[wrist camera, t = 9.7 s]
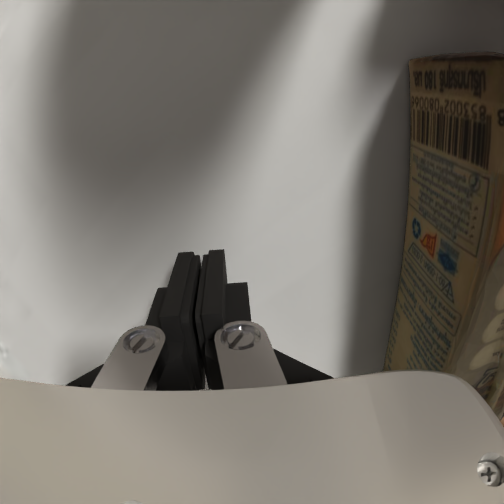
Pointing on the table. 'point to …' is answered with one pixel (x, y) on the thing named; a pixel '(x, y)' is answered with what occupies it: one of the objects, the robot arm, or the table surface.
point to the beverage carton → (454, 225)
